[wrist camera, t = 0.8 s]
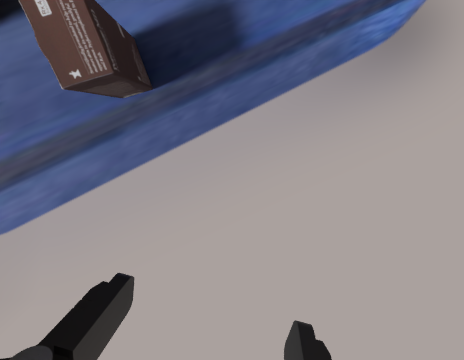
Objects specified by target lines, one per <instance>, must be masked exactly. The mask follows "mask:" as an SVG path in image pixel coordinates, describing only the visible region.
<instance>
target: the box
mask: <svg viewBox="0 0 464 360" xmlns="http://www.w3.org/2000/svg"><path fill="white" fill-rule="evenodd" d="M19 2H20V4H21V6H22V8H23V10H24V12H25V14H26V16H27V18H28V20H29V22H30V24H31V26H32V28H33V30H34V33H35V37H36V40H37V43H38V45H39V47H40V49H41V51H42V52H43V54H44V55H45V57H46V58H47V59H48V61H49V63H50V65H51V67H52V69H53V71H54V73H55V75H56V77H57V79H58V81H59V83H60V86H61V88H62V89H66V90H73V91H80V92H86V93H92V94H98V95H105V96H111V97H118V98H125V97H129V96H132V95H136V94H139V93H142V92H145V91H149V90H152V89H153V88H152V85H151V83H150V80H149V78H148V75H147V73H146V70H145V67H144V65H143V62H142V60H141V57H140V54H139V51H138V48H137V46H136V42H135V40H134V38H133V37H132V36H131V35H130V34H129V33H128V32H127V31H126V30H125V29H124V28H123V27H122V26H121V25H120V24H119V23H117V22H116V21H115V20H114V19H113V18H112V17H111V16H110V15H109V14H108V13H107V12H106V11H105V10H104V9H103V8H102V7H101V6H100V5H99V4H98V3H97V2H96V1H95V0H19Z"/></svg>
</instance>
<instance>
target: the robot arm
mask: <svg viewBox="0 0 464 360" xmlns="http://www.w3.org/2000/svg"><path fill="white" fill-rule="evenodd" d="M133 290H134V277H133V276H129V275H126V274H122V273H117V274H116V275H115V276H114V277H113V279H112V280H111V281H110V282H109V283H108V282H104V281H103V282H101V283H100V284H98V285H96V286H95V287H93V288H92V289H90V290H89V291H88V293H87V294H86V295H85V296H84V297H83V298H82V300H80V301H79V302H78V303H77V304H76V305H75V307H74V308H72V309H71V311H70V312H69V313H68V314H67V315H66V316H65V317H64V318H63V319H62V320H61V321H60V322H59V323H58V324H57V325H56V326H55V327H54V329H52V330H51V331H50V333H49V334H48V335H47V336H46V337H45V338H44V339H43V340H42V341H41V342H40V343H39V344H38V345H36V346H33V347H30V348H27V349H25V350H23V351H21V352H19V353H18V354H16V355H15V356H13V357H11V358H5V359H0V360H97V359H98V357H99V356H100V354H101V353H102V351H103V350H104V348H105V347H106V345H107V344H108V342H109V341H110V339H111V337H112V336H113V335H114V333H115V332H116V330H117V328H118V327H119V325H120V324H121V322H122V321H123V319H124V318H125V316H126V315H127V313H128V311H129V310H130V307H131V305H132V301H133ZM284 360H332V359H331V355H330V353H329V351H328V350H327V348H326V346H325V345H324V343H323V341H320V340H316V339H315V335H314V330H313V327H312V325H311V324H307V323H303V322H299V321H294V322H293V325H292V327H291V330H290V333H289V335H288V338H287V340H286V343H285V348H284Z"/></svg>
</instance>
